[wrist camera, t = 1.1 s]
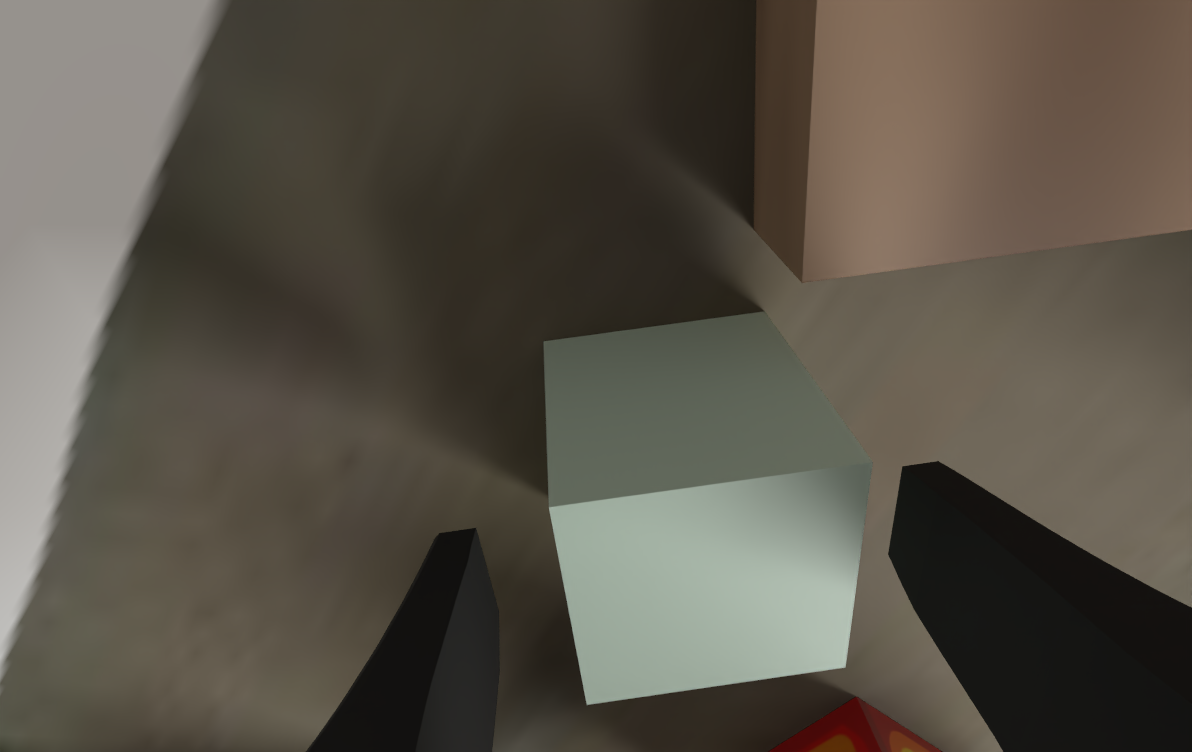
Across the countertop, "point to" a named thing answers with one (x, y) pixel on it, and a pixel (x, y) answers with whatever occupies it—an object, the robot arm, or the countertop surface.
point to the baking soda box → (855, 733)
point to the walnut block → (967, 128)
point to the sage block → (700, 507)
